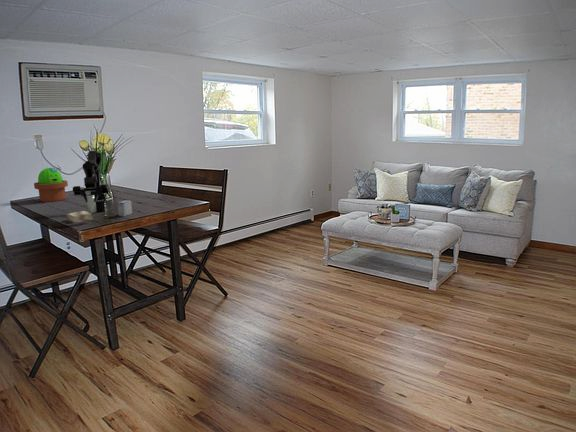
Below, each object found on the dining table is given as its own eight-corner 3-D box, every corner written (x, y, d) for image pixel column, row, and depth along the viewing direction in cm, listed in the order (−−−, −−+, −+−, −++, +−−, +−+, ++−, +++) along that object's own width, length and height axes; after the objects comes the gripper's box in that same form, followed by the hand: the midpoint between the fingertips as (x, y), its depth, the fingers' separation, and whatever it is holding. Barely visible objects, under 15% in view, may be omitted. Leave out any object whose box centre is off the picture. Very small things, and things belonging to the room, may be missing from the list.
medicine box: (126, 213, 280) (125, 200, 278) (132, 213, 278) (131, 200, 276) (118, 216, 272) (117, 202, 270) (124, 216, 271) (123, 202, 269)
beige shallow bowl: (85, 216, 272) (84, 210, 271) (93, 219, 265) (92, 213, 264) (67, 220, 264) (66, 213, 263) (74, 222, 257) (73, 216, 256)
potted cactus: (32, 200, 330) (26, 167, 325) (62, 196, 347) (57, 164, 341) (43, 204, 317) (38, 169, 311) (74, 199, 333) (70, 166, 327)
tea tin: (88, 211, 258) (86, 195, 256) (97, 211, 260) (95, 194, 257) (87, 213, 254) (85, 196, 252) (96, 212, 255) (94, 195, 253)
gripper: (70, 172, 253) (70, 194, 245) (105, 170, 258) (105, 192, 250) (74, 184, 262) (74, 205, 254) (108, 182, 267) (108, 203, 259)
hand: (90, 201), depth 254 cm, fingers closed on tea tin, 4 cm apart
